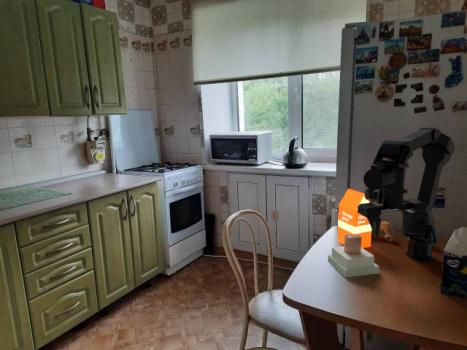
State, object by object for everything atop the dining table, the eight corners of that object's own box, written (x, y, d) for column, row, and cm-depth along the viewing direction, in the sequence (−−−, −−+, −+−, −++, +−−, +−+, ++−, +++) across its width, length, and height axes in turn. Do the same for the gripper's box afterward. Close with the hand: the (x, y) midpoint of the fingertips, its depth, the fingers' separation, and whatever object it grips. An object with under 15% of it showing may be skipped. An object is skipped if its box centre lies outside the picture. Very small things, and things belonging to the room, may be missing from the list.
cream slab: (356, 253, 110) (357, 244, 110) (373, 265, 102) (374, 256, 101) (331, 256, 109) (332, 247, 108) (346, 269, 100) (347, 259, 99)
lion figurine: (356, 235, 131) (357, 213, 129) (360, 231, 135) (361, 209, 134) (397, 243, 123) (398, 219, 121) (400, 238, 127) (401, 215, 125)
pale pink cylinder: (355, 247, 107) (356, 232, 106) (364, 254, 103) (364, 238, 102) (340, 249, 107) (341, 234, 106) (348, 255, 102) (349, 240, 101)
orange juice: (353, 250, 118) (356, 195, 114) (337, 241, 126) (339, 189, 122) (371, 246, 121) (374, 192, 117) (353, 237, 129) (356, 187, 125)
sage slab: (358, 259, 112) (358, 251, 112) (378, 275, 102) (379, 266, 101) (327, 263, 110) (328, 255, 110) (345, 280, 100) (345, 270, 99)
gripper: (403, 176, 105) (400, 224, 108) (348, 180, 102) (346, 229, 105) (430, 184, 94) (425, 236, 97) (369, 189, 91) (366, 243, 94)
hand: (390, 236), depth 99 cm, fingers open, 9 cm apart
